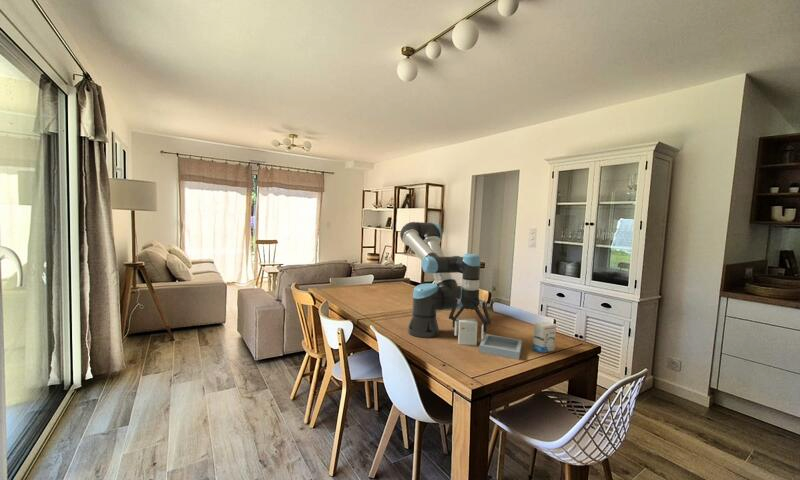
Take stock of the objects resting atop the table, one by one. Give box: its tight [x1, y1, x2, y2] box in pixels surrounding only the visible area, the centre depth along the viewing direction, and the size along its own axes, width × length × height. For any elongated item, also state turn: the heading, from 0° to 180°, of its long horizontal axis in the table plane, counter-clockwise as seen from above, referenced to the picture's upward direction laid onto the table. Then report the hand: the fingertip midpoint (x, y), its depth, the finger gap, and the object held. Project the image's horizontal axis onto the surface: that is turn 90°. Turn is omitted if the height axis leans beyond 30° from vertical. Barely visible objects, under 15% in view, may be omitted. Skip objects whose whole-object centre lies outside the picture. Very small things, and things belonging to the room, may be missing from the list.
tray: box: [478, 333, 523, 361], centre depth 147 cm, size 16×16×3 cm
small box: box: [457, 317, 479, 346], centre depth 153 cm, size 8×6×10 cm
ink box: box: [532, 321, 557, 354], centre depth 148 cm, size 9×5×12 cm, turn 117°
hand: (469, 336), depth 152 cm, fingers open, 11 cm apart
